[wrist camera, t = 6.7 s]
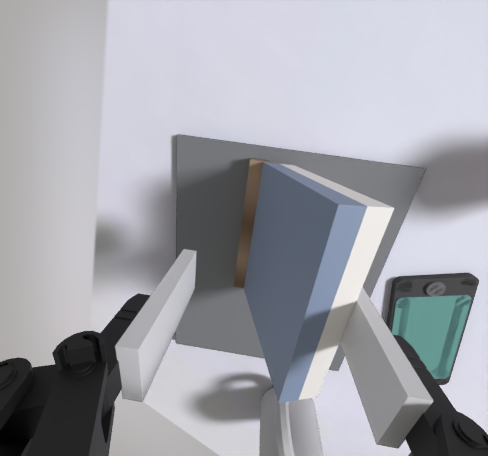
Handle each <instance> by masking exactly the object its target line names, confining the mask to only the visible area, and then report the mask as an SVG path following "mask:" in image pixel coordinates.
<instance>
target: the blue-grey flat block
mask: <svg viewBox="0 0 488 456" xmlns="http://www.w3.org/2000/svg"><path fill="white" fill-rule="evenodd" d="M393 211H394V208H393V207H391V206H389V205H386V204H384V203H382V202H379V201H377V200H375V199H372V198H370V197H368V196H365V195H363V194H360V193H358V192H356V191H353V190H351V189H349V188H346V187H344V186H342V185H339V184H337V183H335V182H332V181H330V180H328V179H325V178H323V177H321V176H318V175H316V174H313V173H311V172H309V171H306V170H304V169H302V168H299V167H297V166H295V165H288V164H278V163H268V162H263V168H262V175H261V181H260V188H259V194H258V201H257V207H256V214H255V220H254V227H253V233H252V240H251V246H250V253H249V259H248V266H247V272H246V279H245V285H244V292H245V295H246V298H247V301H248V305H249V308H250V311H251V315H252V318H253V321H254V324H255V328H256V331H257V334H258V338H259V341H260V344H261V347H262V351H263V354H264V357H265V361H266V364H267V367H268V370H269V374H270V377H271V380H272V384H273V387H274V390H275V393H276V397H277V400H278V403H282V402H289V401H295V400H301V399H308V398H314V397H318V395H319V392H320V390H321V387H322V385H323V382H324V380H325V377H326V375H327V372H328V370H329V368H330V365H331V363H332V360H333V358H334V355H335V353H336V350H337V348H338V345H339V343H340V341H341V338H342V336H343V333H344V331H345V328H346V326H347V323H348V321H349V318H350V316H351V314H352V311H353V309H354V306H355V304H356V301H357V299H358V296H359V294H360V291H361V289H362V287H363V284H364V282H365V279H366V277H367V274H368V272H369V269H370V267H371V264H372V262H373V260H374V257H375V255H376V252H377V250H378V247H379V245H380V242H381V240H382V238H383V235H384V233H385V230H386V228H387V225H388V223H389V220H390V218H391V215H392V213H393Z"/></svg>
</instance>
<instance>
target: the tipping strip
mask: <svg viewBox="0 0 488 456" xmlns="http://www.w3.org/2000/svg"><path fill="white" fill-rule="evenodd" d="M263 162H268V163H269V160H263V159H256V158H251V159H250V164H249V171H248V179H247V187H246V194H245V202H244V210H243V217H242V225H241V233H240V240H239V248H238V256H237V263H236V271H235V279H234V286H233V287H238V288H244V285H245V279H246V272H247V266H248V259H249V253H250V246H251V240H252V233H253V227H254V220H255V214H256V207H257V201H258V194H259V188H260V181H261V175H262V168H263Z"/></svg>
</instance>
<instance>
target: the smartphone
mask: <svg viewBox="0 0 488 456" xmlns="http://www.w3.org/2000/svg"><path fill="white" fill-rule="evenodd" d="M478 283H479V280H478V279H477V278H476V277H475V276H473V275H472V274H470V273H455V274H436V275H417V276H400V277H397V278H395V279H394V281H393V284H392V291H391V298H390V306H389V313H388V320H387V327H388V328H389V330H390V332H391V333H392V335H398V336H402V337H403V338H404V339H405V340H406V341H407V342H408V343H409V344H410V345H411V346H412V347H413V348H414V350H415V351H416V353H417V354H418V355H419V357H420V360H421V361H423V363H424V364H425V366H426V367H427V370H428V371H429V372H430V373H431V375H432V376H433V378H434V379H435V380H436V382H437V383H438V385H444V384H447V383H448V382H449V380H450V377H451V373H452V370H453V367H454V363H455V360H456V357H457V353H458V350H459V347H460V343H461V340H462V337H463V333H464V330H465V327H466V323H467V320H468V317H469V313H470V310H471V307H472V303H473V300H474V297H475V293H476V290H477V287H478Z"/></svg>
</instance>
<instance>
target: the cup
mask: <svg viewBox="0 0 488 456" xmlns="http://www.w3.org/2000/svg"><path fill="white" fill-rule="evenodd" d="M259 456H324V455H323V450H322V444H321V438H320V433H319V427H318V421H317V416H316V410H315V405H314V402H313V400H312V398H308V399H301V400H295V401H289V402H282V403H278V400H277V397H276V393H275V390H274V387H272V388H270V389H269V390H267V391H266V392H265V394H264V395H263V397H262V399H261V408H260V454H259Z"/></svg>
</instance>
